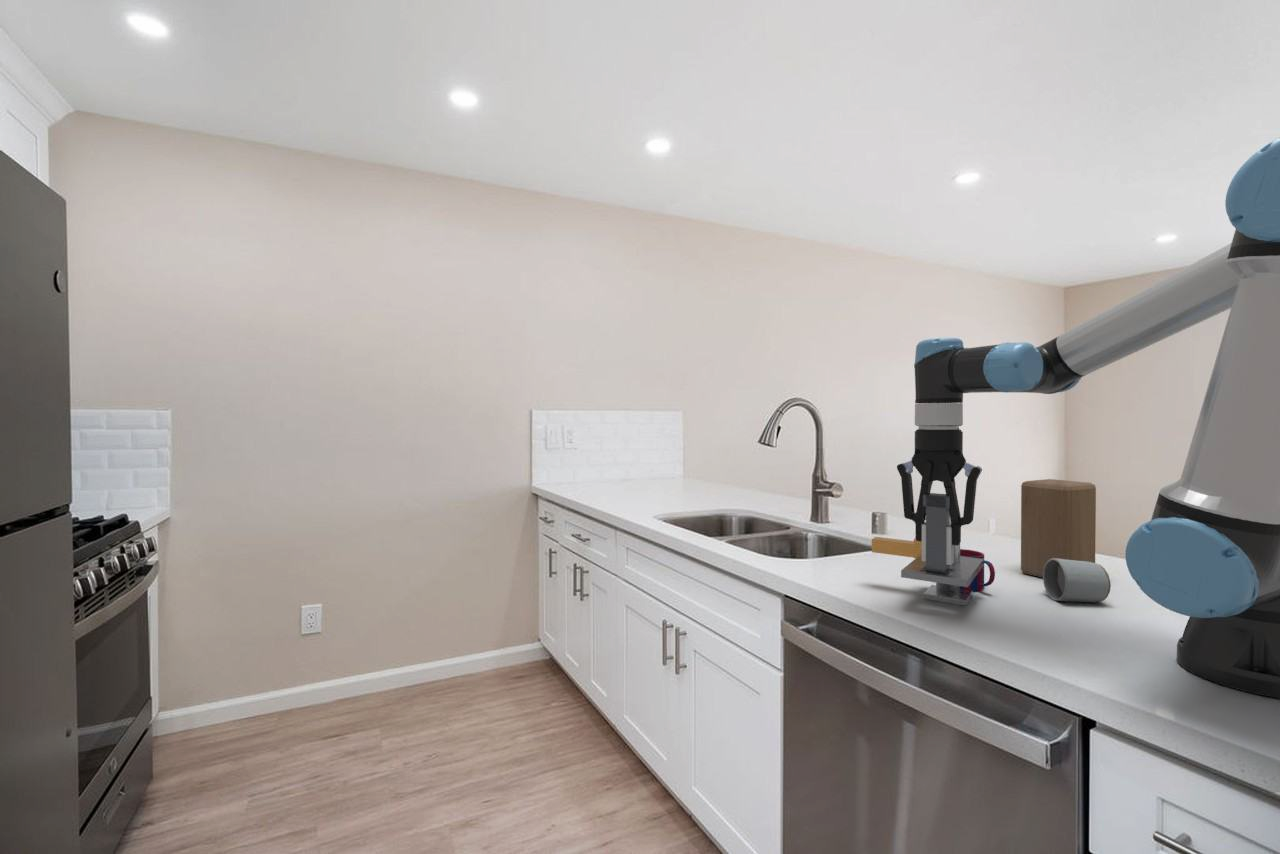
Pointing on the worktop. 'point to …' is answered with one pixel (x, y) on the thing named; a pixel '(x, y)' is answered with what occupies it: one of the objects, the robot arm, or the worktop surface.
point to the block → (1056, 523)
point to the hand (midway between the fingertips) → (937, 561)
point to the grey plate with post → (945, 584)
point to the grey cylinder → (1075, 581)
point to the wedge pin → (936, 532)
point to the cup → (979, 579)
